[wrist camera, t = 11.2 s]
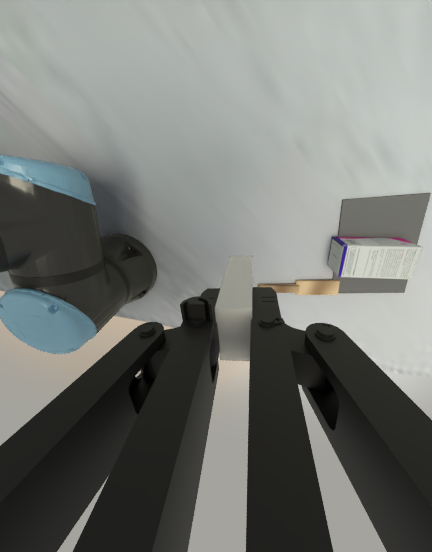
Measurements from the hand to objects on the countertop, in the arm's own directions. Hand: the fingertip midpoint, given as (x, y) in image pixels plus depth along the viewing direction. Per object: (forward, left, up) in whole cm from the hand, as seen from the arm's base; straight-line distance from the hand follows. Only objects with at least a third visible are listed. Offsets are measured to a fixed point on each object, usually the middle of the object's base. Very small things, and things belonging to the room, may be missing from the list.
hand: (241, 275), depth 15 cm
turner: (+10, -16, -29) cm, 35 cm away
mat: (+22, -8, -29) cm, 38 cm away
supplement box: (+14, -8, -26) cm, 31 cm away
